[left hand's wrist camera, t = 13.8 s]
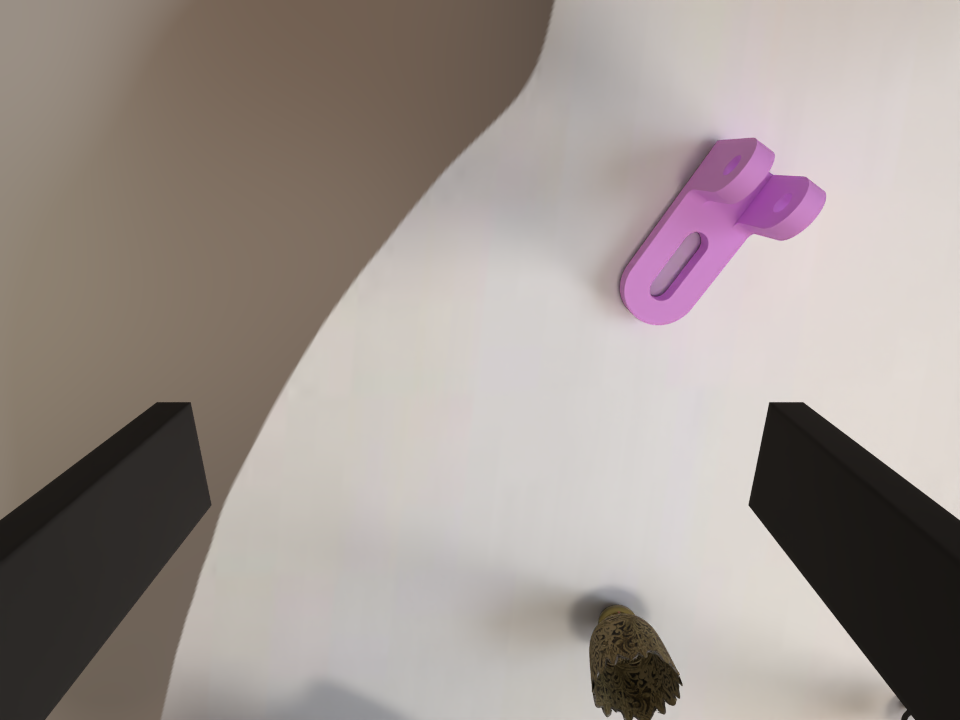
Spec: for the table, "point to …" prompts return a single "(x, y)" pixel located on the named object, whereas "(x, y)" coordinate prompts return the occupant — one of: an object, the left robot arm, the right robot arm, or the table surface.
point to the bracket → (717, 225)
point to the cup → (630, 666)
